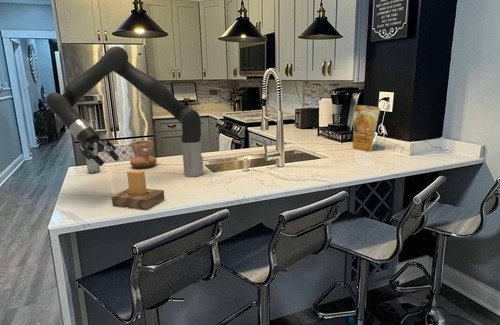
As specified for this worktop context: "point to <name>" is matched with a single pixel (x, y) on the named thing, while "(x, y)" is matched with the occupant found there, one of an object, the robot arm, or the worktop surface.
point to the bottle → (92, 165)
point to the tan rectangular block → (137, 183)
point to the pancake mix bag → (364, 126)
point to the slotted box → (138, 199)
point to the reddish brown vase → (142, 154)
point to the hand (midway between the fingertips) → (110, 161)
